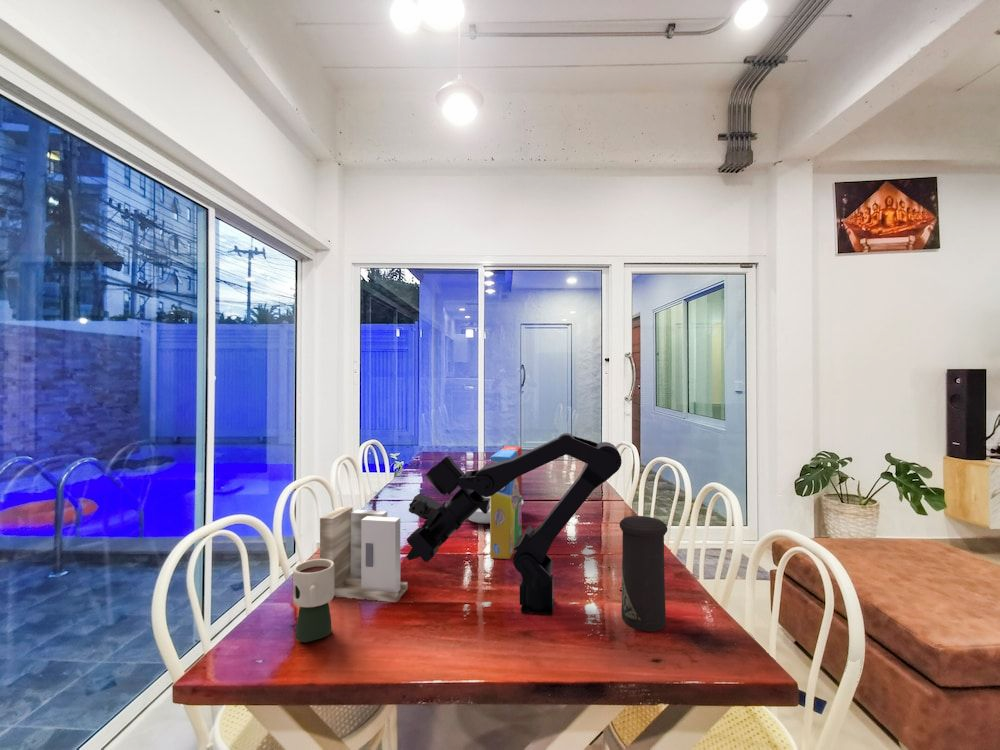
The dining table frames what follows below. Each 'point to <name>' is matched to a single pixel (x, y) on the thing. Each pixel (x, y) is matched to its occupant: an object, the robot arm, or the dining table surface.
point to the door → (380, 554)
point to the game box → (506, 510)
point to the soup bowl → (482, 515)
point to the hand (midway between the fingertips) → (408, 558)
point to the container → (643, 573)
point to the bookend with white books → (349, 553)
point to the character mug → (313, 598)
